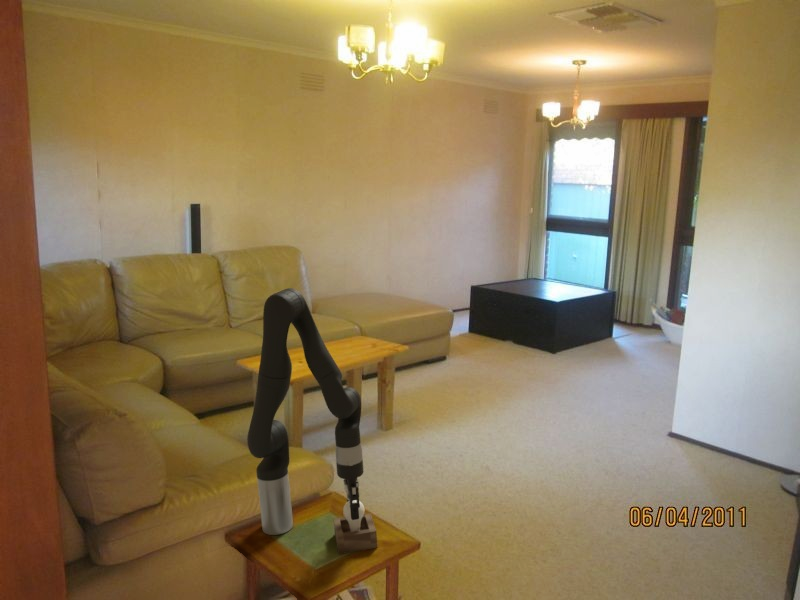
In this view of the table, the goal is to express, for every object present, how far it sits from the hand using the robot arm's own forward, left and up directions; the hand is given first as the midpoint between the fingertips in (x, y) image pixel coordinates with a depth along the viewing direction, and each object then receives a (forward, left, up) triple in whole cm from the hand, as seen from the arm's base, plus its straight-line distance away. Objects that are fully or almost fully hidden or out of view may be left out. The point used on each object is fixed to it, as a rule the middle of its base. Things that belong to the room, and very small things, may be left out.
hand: (353, 511), depth 186 cm
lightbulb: (0, 0, -8) cm, 8 cm away
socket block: (0, 0, -9) cm, 9 cm away
